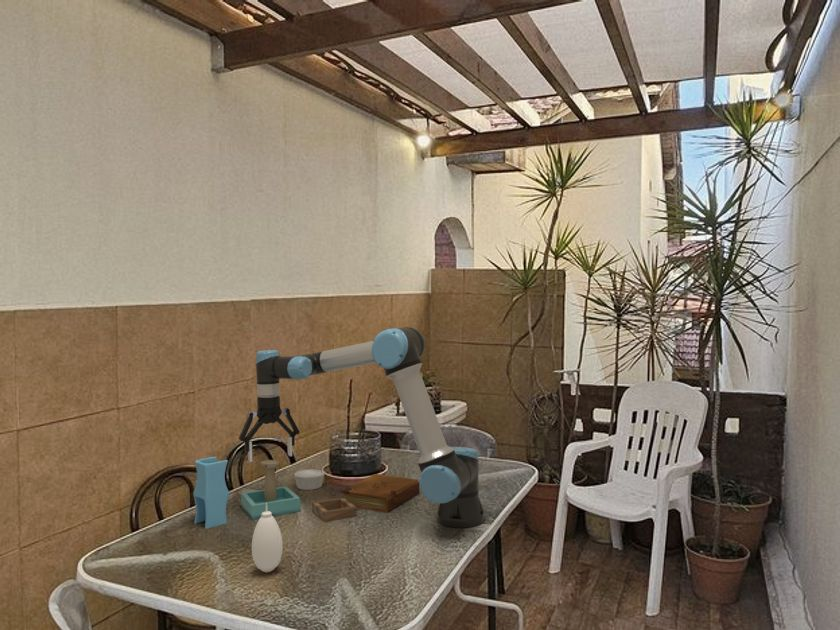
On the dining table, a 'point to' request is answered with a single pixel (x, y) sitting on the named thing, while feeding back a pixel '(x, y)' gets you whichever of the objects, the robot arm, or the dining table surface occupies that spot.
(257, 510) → the parts tray
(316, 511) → the socket
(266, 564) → the white air blower bulb
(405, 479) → the diary
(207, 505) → the blue tall hollow block
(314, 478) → the ramekin
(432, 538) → the dining table surface
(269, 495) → the handle
